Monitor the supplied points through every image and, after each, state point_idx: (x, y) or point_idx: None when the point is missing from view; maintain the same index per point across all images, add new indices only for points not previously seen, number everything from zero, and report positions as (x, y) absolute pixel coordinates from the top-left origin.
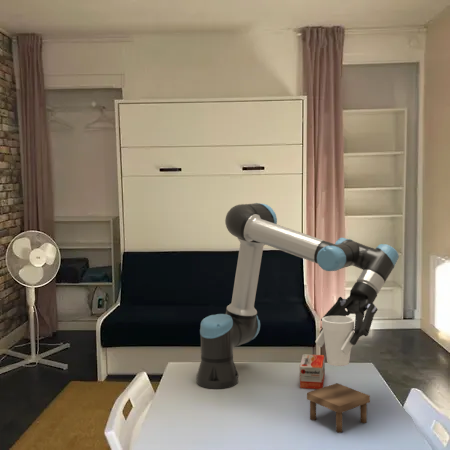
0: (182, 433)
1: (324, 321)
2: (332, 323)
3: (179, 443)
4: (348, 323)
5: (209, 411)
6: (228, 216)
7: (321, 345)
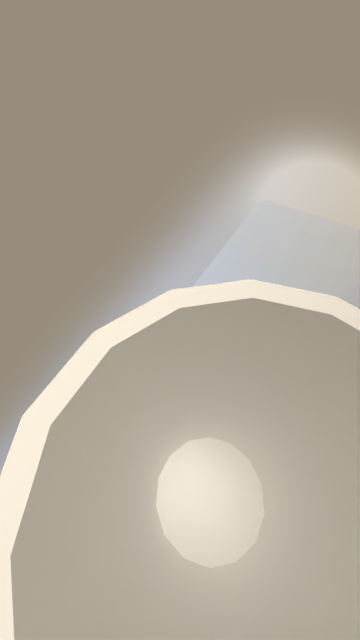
0: (273, 237)
1: (262, 283)
2: (154, 304)
3: (246, 226)
4: (6, 487)
5: (342, 290)
6: None
7: None
